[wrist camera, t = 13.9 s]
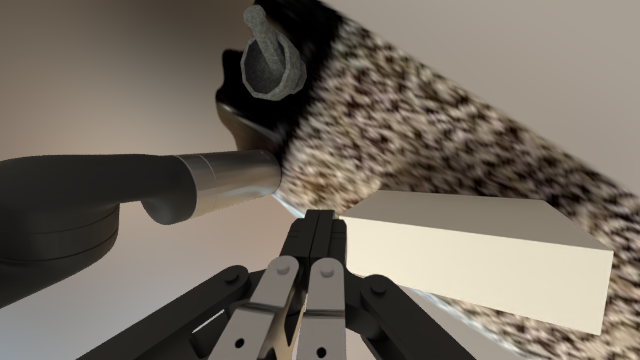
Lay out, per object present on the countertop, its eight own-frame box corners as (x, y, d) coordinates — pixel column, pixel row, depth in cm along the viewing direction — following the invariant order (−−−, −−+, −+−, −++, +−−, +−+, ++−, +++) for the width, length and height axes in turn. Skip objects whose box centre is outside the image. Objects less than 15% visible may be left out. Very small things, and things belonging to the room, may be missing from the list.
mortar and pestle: (300, 114, 41) (248, 106, 31) (263, 90, 44) (205, 76, 34) (328, 47, 37) (279, 13, 26) (286, 26, 40) (227, -12, 29)
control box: (537, 249, 28) (600, 335, 16) (378, 227, 37) (341, 269, 25) (543, 200, 27) (613, 251, 15) (378, 189, 36) (339, 215, 24)
